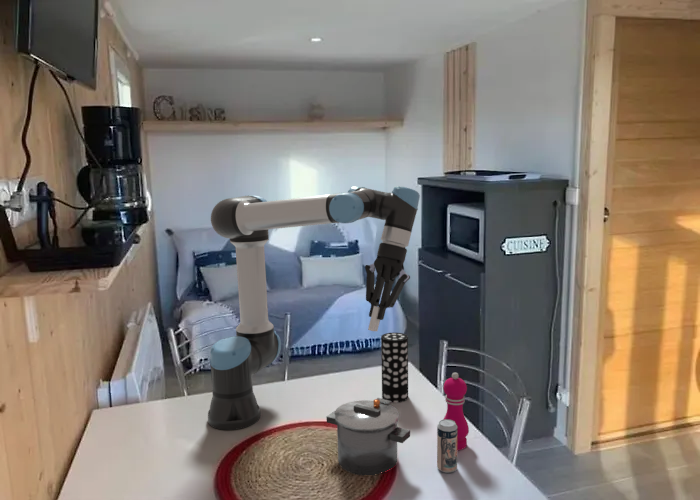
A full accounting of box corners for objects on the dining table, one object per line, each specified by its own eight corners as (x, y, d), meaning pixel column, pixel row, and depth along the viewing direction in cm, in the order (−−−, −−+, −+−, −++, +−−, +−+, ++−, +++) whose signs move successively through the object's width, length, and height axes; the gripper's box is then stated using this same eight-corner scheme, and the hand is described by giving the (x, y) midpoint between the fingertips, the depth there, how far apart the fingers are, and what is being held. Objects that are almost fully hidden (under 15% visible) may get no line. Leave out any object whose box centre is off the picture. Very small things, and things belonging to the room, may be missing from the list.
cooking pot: (315, 461, 146) (313, 420, 144) (347, 436, 158) (346, 398, 156) (391, 486, 134) (391, 442, 132) (420, 457, 146) (419, 416, 145)
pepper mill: (468, 452, 148) (469, 378, 145) (440, 450, 150) (440, 377, 146) (468, 439, 155) (469, 368, 152) (441, 437, 157) (441, 366, 153)
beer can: (444, 476, 138) (444, 429, 136) (433, 466, 142) (433, 420, 140) (460, 471, 140) (461, 424, 138) (449, 462, 144) (450, 416, 142)
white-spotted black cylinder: (409, 402, 179) (409, 340, 176) (382, 402, 179) (381, 341, 176) (407, 391, 187) (406, 332, 184) (381, 392, 187) (380, 332, 184)
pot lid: (322, 421, 142) (322, 410, 141) (358, 399, 156) (358, 389, 156) (378, 437, 133) (378, 425, 133) (411, 412, 147) (411, 401, 147)
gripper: (421, 251, 154) (400, 337, 154) (379, 242, 161) (358, 324, 160) (410, 247, 148) (388, 337, 147) (366, 238, 154) (345, 323, 154)
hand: (372, 330), depth 154 cm, fingers closed
